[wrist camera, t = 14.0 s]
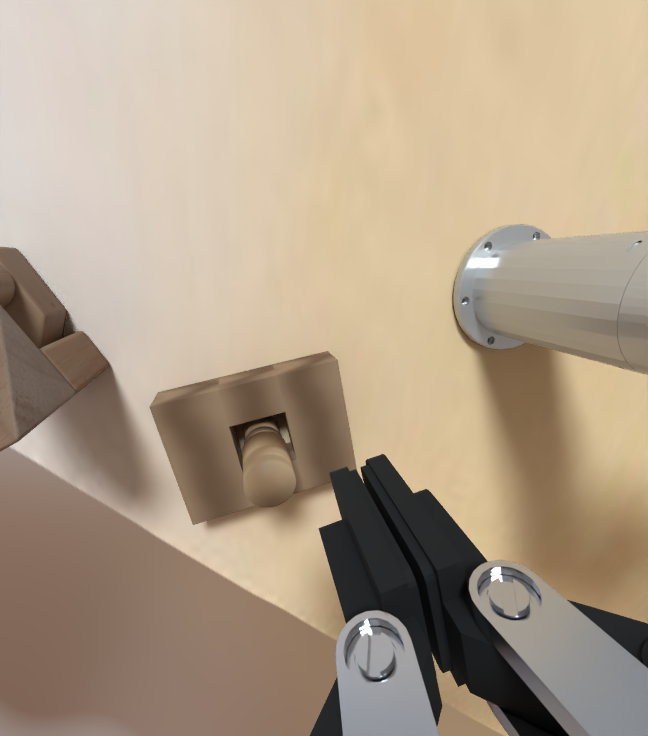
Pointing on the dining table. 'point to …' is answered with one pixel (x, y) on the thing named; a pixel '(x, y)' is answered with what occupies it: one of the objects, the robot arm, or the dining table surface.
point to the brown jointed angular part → (36, 351)
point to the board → (247, 403)
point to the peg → (266, 464)
